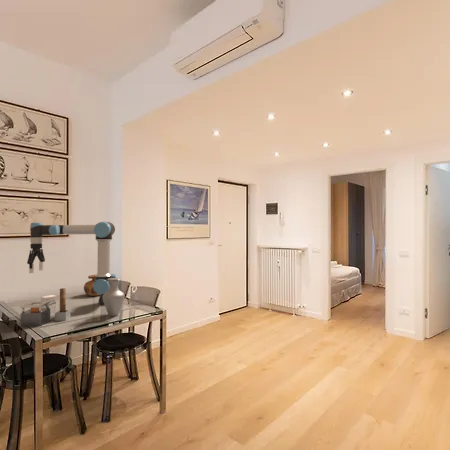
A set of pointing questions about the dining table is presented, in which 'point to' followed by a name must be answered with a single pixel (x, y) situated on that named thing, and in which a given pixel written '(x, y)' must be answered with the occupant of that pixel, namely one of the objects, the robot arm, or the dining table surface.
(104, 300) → the vase
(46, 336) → the dining table surface
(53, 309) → the ink box
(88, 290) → the clay pot
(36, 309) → the breaker button
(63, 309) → the stylus
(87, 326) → the dining table surface
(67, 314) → the pen cup
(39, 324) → the grey clear-topped case
